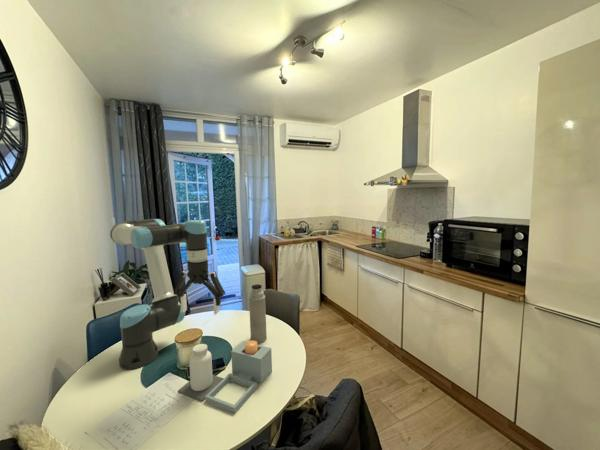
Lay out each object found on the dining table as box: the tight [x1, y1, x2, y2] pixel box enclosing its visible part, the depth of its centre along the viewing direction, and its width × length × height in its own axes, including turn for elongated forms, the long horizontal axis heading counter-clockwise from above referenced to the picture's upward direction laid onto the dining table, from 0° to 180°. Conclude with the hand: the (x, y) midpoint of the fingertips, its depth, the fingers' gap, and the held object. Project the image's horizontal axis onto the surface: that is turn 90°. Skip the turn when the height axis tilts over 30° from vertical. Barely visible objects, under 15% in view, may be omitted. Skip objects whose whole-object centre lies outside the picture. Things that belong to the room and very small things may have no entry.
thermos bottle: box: [248, 284, 268, 344], centre depth 132 cm, size 8×8×28 cm
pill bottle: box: [188, 343, 213, 391], centre depth 100 cm, size 8×8×15 cm
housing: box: [204, 341, 273, 414], centre depth 100 cm, size 14×24×10 cm, turn 156°
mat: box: [177, 374, 225, 402], centre depth 101 cm, size 12×12×1 cm
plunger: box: [245, 340, 258, 355], centre depth 107 cm, size 5×5×7 cm
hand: (200, 312), depth 104 cm, fingers open, 13 cm apart
